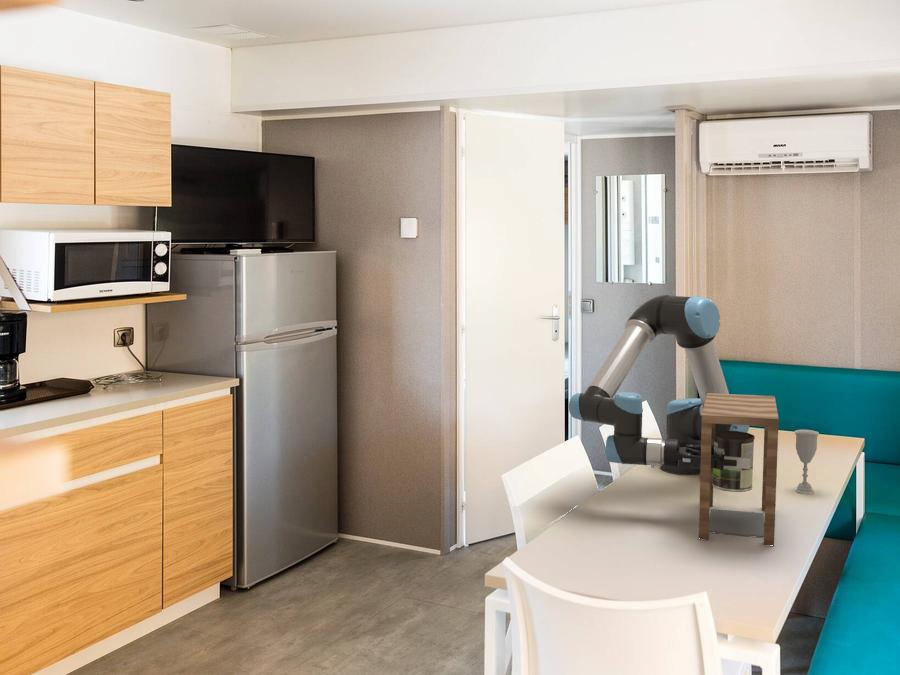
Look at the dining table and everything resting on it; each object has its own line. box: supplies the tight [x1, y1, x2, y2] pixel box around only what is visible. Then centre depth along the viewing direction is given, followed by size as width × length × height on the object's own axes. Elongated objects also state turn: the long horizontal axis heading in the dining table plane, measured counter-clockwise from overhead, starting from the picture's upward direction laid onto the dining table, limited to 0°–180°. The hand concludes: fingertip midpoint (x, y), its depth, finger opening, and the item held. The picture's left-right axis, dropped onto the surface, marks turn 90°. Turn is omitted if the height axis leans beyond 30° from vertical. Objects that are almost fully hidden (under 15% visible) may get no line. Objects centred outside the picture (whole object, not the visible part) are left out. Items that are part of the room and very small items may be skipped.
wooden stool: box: [698, 393, 780, 547], centre depth 240 cm, size 32×18×32 cm, turn 162°
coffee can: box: [712, 431, 756, 493], centre depth 240 cm, size 10×10×14 cm
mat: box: [709, 508, 765, 538], centre depth 242 cm, size 20×14×1 cm
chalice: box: [794, 429, 820, 495], centre depth 270 cm, size 7×7×18 cm
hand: (750, 458), depth 239 cm, fingers closed on coffee can, 10 cm apart
